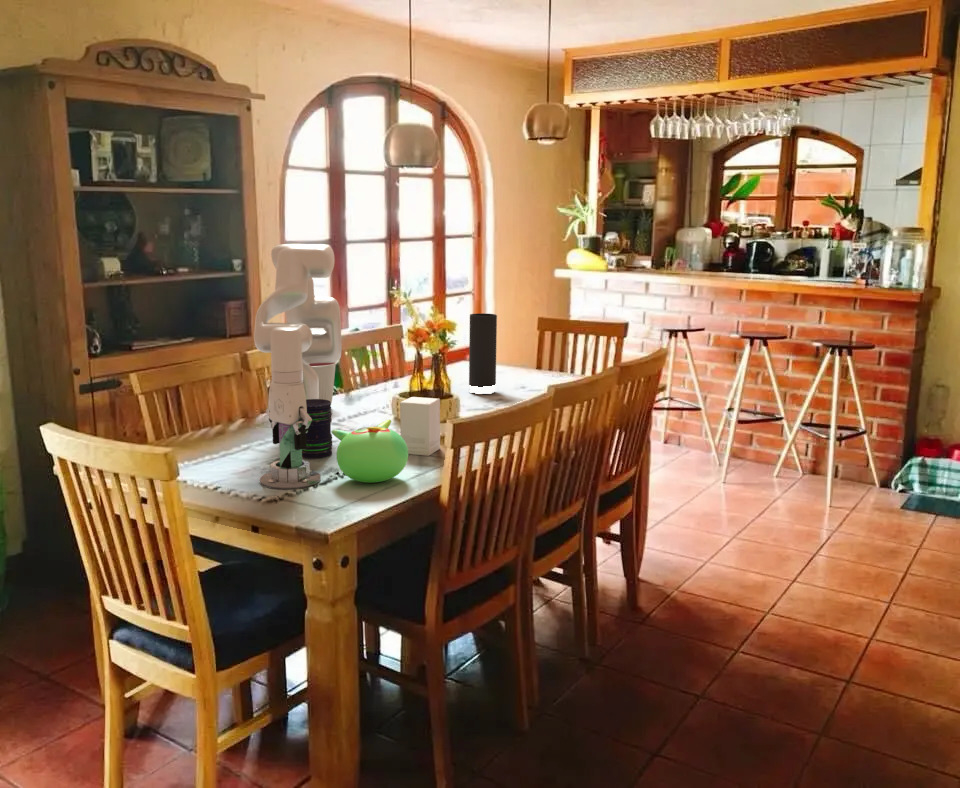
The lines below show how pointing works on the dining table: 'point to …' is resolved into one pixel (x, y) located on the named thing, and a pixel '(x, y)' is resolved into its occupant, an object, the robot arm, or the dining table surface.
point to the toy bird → (371, 453)
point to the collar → (290, 476)
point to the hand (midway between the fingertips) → (289, 445)
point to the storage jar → (318, 430)
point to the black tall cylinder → (482, 349)
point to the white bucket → (325, 379)
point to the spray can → (288, 447)
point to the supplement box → (420, 425)
